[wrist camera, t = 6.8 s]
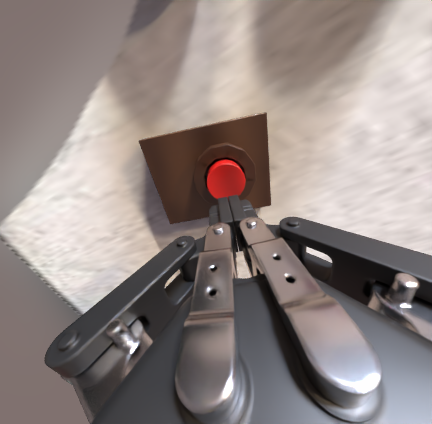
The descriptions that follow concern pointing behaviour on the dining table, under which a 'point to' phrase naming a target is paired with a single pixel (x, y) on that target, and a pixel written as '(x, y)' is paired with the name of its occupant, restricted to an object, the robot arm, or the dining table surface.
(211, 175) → the light button
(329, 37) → the dining table surface
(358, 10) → the dining table surface
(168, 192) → the switch block
